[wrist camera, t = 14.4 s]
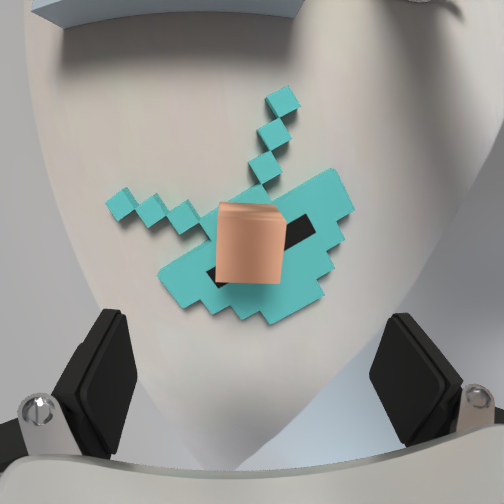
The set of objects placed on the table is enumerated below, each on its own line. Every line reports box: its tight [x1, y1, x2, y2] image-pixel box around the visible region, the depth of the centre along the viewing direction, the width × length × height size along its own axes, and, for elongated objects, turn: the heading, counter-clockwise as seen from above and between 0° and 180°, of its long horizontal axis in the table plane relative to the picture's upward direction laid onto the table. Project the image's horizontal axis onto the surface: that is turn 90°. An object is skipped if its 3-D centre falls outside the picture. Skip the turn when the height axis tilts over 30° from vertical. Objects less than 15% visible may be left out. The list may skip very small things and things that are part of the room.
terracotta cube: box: [216, 202, 287, 284], centre depth 26 cm, size 5×5×6 cm
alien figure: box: [105, 86, 355, 325], centre depth 30 cm, size 20×2×20 cm
